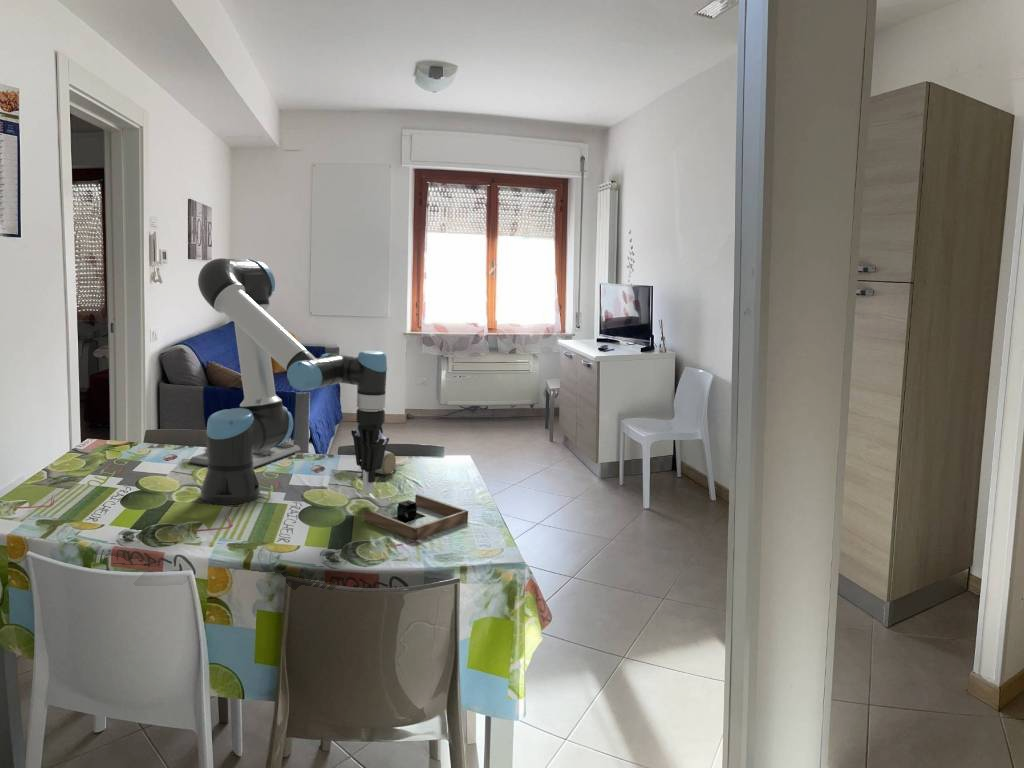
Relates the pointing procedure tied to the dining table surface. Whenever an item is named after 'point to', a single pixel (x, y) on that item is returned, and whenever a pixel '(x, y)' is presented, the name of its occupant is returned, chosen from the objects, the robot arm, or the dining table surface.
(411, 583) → the dining table surface
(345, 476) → the dining table surface
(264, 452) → the flat grey tray
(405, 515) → the black wall mount bracket
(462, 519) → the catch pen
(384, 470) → the ceramic mug
